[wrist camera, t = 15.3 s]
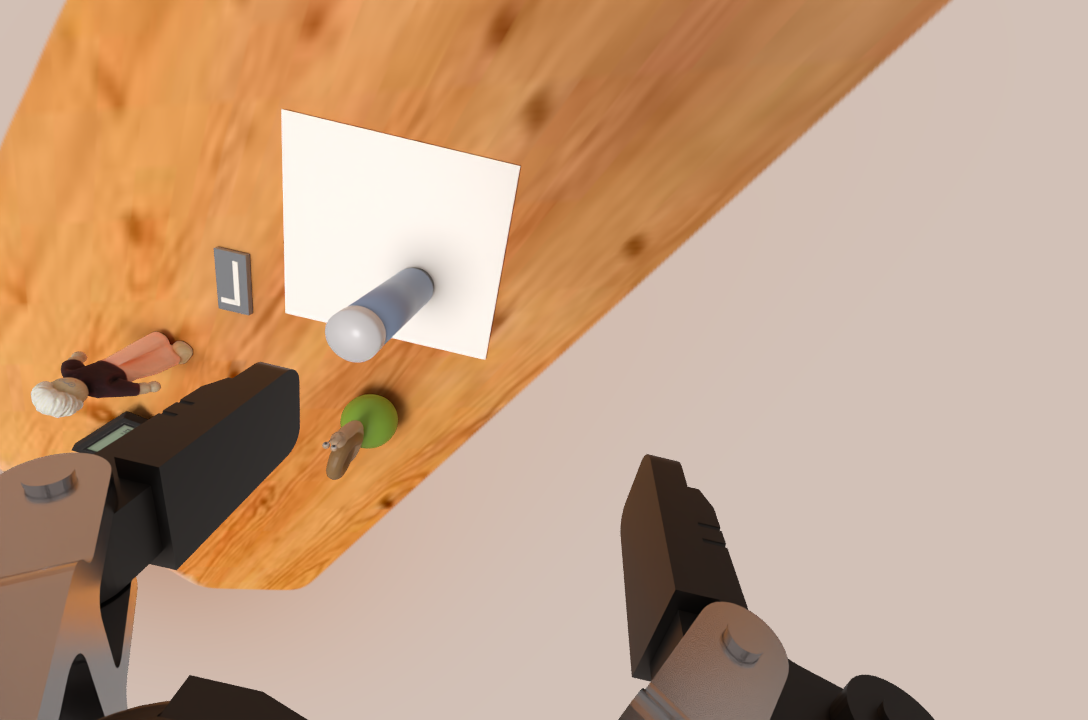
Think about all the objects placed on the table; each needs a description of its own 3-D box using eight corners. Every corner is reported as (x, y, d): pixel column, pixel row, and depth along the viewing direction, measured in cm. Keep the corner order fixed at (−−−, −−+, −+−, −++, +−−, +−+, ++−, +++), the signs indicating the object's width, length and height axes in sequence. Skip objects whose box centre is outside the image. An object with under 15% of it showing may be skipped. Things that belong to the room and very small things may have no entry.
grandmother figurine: (201, 338, 48) (80, 398, 37) (203, 370, 50) (88, 437, 38) (127, 319, 48) (-18, 373, 37) (132, 352, 50) (-5, 414, 38)
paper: (283, 109, 39) (281, 109, 38) (520, 166, 39) (520, 166, 39) (287, 312, 46) (285, 313, 46) (485, 358, 46) (485, 359, 46)
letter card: (218, 246, 44) (212, 248, 43) (249, 254, 44) (244, 255, 43) (223, 306, 47) (218, 308, 46) (252, 313, 47) (248, 315, 46)
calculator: (168, 502, 59) (147, 520, 56) (94, 432, 55) (68, 447, 53) (218, 476, 57) (199, 493, 54) (144, 400, 53) (120, 414, 50)
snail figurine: (412, 387, 49) (361, 456, 38) (399, 435, 51) (349, 513, 40) (361, 369, 48) (295, 434, 37) (351, 419, 51) (287, 493, 40)
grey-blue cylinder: (399, 260, 43) (325, 305, 31) (438, 270, 43) (380, 318, 31) (396, 298, 44) (324, 355, 32) (434, 307, 44) (377, 367, 32)
